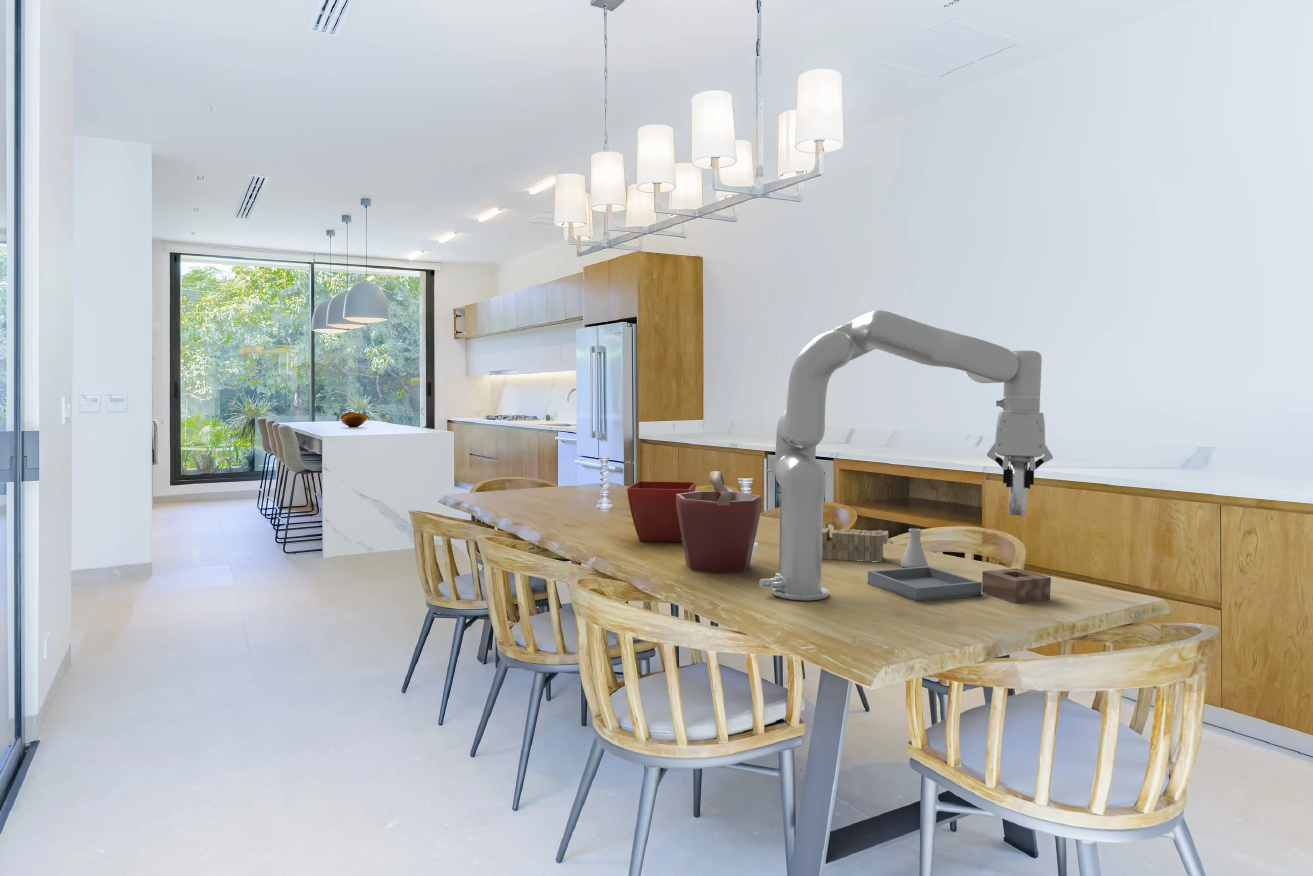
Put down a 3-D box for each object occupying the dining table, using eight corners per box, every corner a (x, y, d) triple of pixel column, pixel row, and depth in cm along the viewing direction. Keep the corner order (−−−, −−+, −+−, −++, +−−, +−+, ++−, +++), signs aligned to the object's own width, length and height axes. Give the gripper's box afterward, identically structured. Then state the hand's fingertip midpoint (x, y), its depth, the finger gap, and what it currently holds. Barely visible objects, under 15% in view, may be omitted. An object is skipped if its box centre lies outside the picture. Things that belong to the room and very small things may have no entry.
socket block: (1015, 603, 177) (1015, 580, 176) (981, 592, 186) (982, 571, 186) (1050, 599, 180) (1050, 577, 180) (1015, 589, 189) (1016, 568, 189)
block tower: (779, 559, 227) (887, 564, 217) (778, 529, 226) (886, 533, 217) (784, 554, 234) (888, 558, 224) (783, 525, 234) (888, 528, 224)
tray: (916, 601, 177) (916, 588, 177) (867, 583, 194) (867, 571, 194) (981, 595, 183) (981, 582, 183) (928, 578, 200) (929, 566, 200)
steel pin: (1016, 516, 179) (1019, 457, 178) (999, 513, 184) (1001, 455, 183) (1035, 515, 181) (1037, 456, 180) (1017, 512, 185) (1019, 455, 185)
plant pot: (625, 542, 243) (626, 487, 243) (637, 532, 262) (638, 480, 261) (688, 545, 240) (689, 489, 239) (695, 534, 259) (696, 482, 258)
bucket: (746, 580, 197) (747, 478, 195) (660, 572, 204) (661, 474, 202) (765, 560, 220) (767, 469, 218) (688, 554, 227) (689, 466, 225)
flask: (930, 570, 209) (931, 532, 208) (901, 569, 210) (901, 531, 210) (926, 564, 216) (927, 527, 215) (898, 563, 218) (899, 526, 217)
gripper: (980, 405, 181) (977, 486, 182) (1063, 407, 174) (1059, 491, 175) (982, 405, 187) (979, 483, 189) (1061, 406, 181) (1058, 488, 182)
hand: (1018, 486), depth 182 cm, fingers closed on steel pin, 3 cm apart
